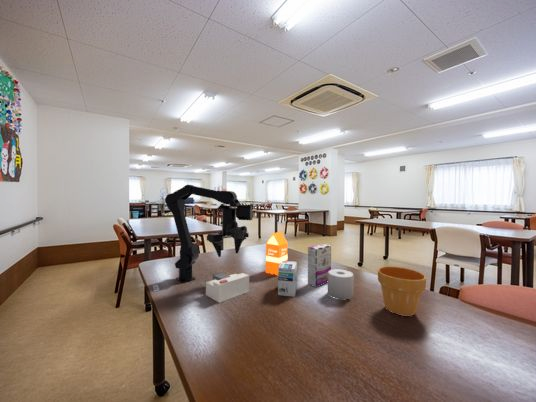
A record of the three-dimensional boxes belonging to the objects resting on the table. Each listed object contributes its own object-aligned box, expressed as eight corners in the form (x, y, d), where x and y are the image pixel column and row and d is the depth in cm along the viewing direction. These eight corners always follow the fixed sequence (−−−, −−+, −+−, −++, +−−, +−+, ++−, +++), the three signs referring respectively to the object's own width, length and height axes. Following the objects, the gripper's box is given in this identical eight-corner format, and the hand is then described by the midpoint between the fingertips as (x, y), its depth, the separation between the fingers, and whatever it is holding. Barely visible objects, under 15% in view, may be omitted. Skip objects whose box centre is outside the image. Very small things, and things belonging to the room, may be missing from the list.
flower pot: (418, 304, 84) (419, 268, 84) (431, 325, 71) (432, 282, 70) (374, 298, 89) (375, 264, 88) (379, 316, 75) (380, 276, 75)
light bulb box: (294, 297, 89) (295, 269, 89) (277, 295, 90) (277, 267, 90) (297, 286, 99) (297, 261, 99) (281, 285, 101) (281, 260, 100)
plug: (212, 289, 96) (212, 274, 95) (220, 286, 98) (221, 272, 98) (226, 296, 89) (226, 280, 89) (234, 293, 92) (235, 278, 91)
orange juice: (287, 270, 120) (288, 231, 119) (278, 275, 112) (279, 234, 112) (274, 268, 124) (274, 230, 123) (265, 272, 117) (265, 232, 116)
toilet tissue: (343, 286, 100) (344, 266, 100) (356, 300, 87) (357, 277, 87) (322, 286, 100) (323, 266, 100) (332, 300, 87) (332, 277, 87)
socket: (205, 295, 90) (206, 276, 89) (235, 285, 100) (235, 268, 99) (219, 302, 83) (219, 283, 83) (249, 291, 93) (249, 274, 93)
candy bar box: (322, 278, 110) (322, 243, 109) (331, 281, 106) (331, 245, 106) (306, 284, 102) (307, 246, 102) (316, 287, 99) (316, 248, 98)
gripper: (221, 223, 90) (221, 263, 91) (257, 219, 103) (256, 254, 104) (206, 220, 98) (205, 257, 98) (241, 217, 111) (240, 250, 112)
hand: (228, 255), depth 103 cm, fingers open, 9 cm apart
